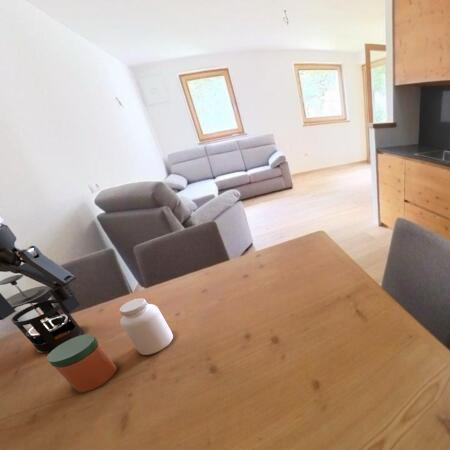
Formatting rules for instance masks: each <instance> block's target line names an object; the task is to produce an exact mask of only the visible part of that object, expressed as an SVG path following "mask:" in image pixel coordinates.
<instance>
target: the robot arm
mask: <svg viewBox="0 0 450 450" xmlns="http://www.w3.org/2000/svg"><path fill="white" fill-rule="evenodd" d="M4 221H5V220H4V218H3V217H2V216H1V215H0V272H1V273H2V272H3V273H8V272H9V273H12V274H19V275H23V277H24V276H25V277H26V278H29V279H31V280H33V281H35V282H37V283H40V284H42V285H43V286H48V287H50V293H51V294H52V297H53V298H54V299H56V300H57V302H58V303H59V304H60V306H61V307H62V308H63V310H64V311H65V312H66V313H69V314H71V313H72V312H73V311H75V310H76V309H77V308H79V307H80V306H81V303H80V302H79V300H78V298H77V297H76V296H75V295H76V293H75V292H74V290H73V289H72V287H71V286H70V283H72V282H74V281H75V280H76V279H77V277H76V276H75V275H74V274H73V273H71V272H69V271H68V270H67V269H66V268H64V267H63V266H61V265H59V263H57V262H55V261H54V260H52V259H51V258H50V257H48V256H47V255H45V254H43V253H42V251H41V250H40V249H39V247H37V246H36V245H31V246H28V247H26V248H22V249H20V248H18V247H17V246H16V245H15V243H16V242H17V237H16V235H15V233H14V232H13V231H12V229H11V228H10V227H9V225H7V224H5V223H4ZM6 299H7V298H5V297H4V295H3V294H2V293H1V292H0V321H4V320H5V319H6V318H8V317H9V316H11V315H12V314H14V313H16V312H17V311H16V309H14V308H13V307H12V306H11V305H10V304H9V303H8V301H7V300H6ZM58 303H57V304H58Z"/></svg>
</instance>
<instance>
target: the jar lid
mask: <svg viewBox="0 0 450 450" xmlns="http://www.w3.org/2000/svg"><path fill="white" fill-rule="evenodd" d="M98 343H99V340H98V339H97V338H96V336H95V335H94V334H91V333H85V334H82V335H81V336H77V337H75V338H72V339H70V340H68V341H66V342H64V343H62V344H61V345H59V346H58V347H56V348H55V349H54V350H52V351H51V352H50V353H48V355H47V357H46V360H47V362H48V363H49V364H50V365H51V366H52V367H53V368H55V367H62V366H66V365H69V364H72V363H74V362H76V361H78V360H80V359H82V358H84V357H85V356H87V355H88V354H90V353H91V352H92V351H93V350H94V349H95V348H96V347H97V345H98Z"/></svg>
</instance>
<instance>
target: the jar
mask: <svg viewBox="0 0 450 450" xmlns="http://www.w3.org/2000/svg"><path fill="white" fill-rule="evenodd" d="M54 368H55V369H56V370H57V371H58V372H59V373H60V375H61V376H62V377H63V378H64V380H66V381H67V383H69V385H70V386H71V387H72V388H73V389H74V390H75V391H76V392H78V393H85V392H88V391H89V392H90V391H92V390H94V389H96V388H99V387H100V386H102V385H103V384H105V383H106V382H107V381H109V380H110V379H111V378H112V377H113V376H114V375H115V373H116V372H117V365H116V364H115V363H114V362H113V361H112V359H111V358H110V356H109V355H108V353H106V351H105V350H104V348H103V347H102V345H100V343H99V342H98V345H97V347H96V348H95V349H94V350H93V351H92V352H91V353H90V354H88V355H87V356H85V357H84V358H82V359H80V360H78V361H76V362H74V363H72V364H69V365H66V366H62V367H54Z"/></svg>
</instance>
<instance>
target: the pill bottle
mask: <svg viewBox="0 0 450 450" xmlns="http://www.w3.org/2000/svg"><path fill="white" fill-rule="evenodd" d="M119 313H120V314H121V316H122V317H121V318H120V326H121V328H122V329H123V331H124V332H125V334H126V335H127V337H128V339H129V340H130V341H131V343H132V345H133V346H134V347H135V349H136V350H137V352H138V353H139V354H141V355H143V356H148V355H149V356H150V355H153V354H156V353H158V352H160V351H162V350H163V349H165V348H166V347H168V345H170V344H171V342H172V341H173V339H174V334H173V332H172V330H171V328H170V326H169V325H168V323H167V321H166V320H165V317H164V315H163V314H162V313H161V311H160V309H159V307H158V306H157V305H155V304H151V303H148V302H147V300H146V299H145V298H141V297H140V298H139V297H138V298H134V299H131V300H129V301H127V302H125V303H123V305H121V306H120V308H119Z"/></svg>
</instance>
